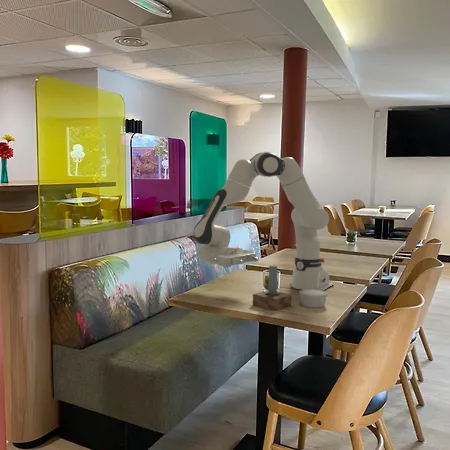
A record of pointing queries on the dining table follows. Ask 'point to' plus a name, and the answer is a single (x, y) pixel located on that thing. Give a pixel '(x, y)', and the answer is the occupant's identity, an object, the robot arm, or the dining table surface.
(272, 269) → the dowel
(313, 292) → the ramekin
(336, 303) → the dining table surface
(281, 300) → the wooden candle holder
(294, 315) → the dining table surface
